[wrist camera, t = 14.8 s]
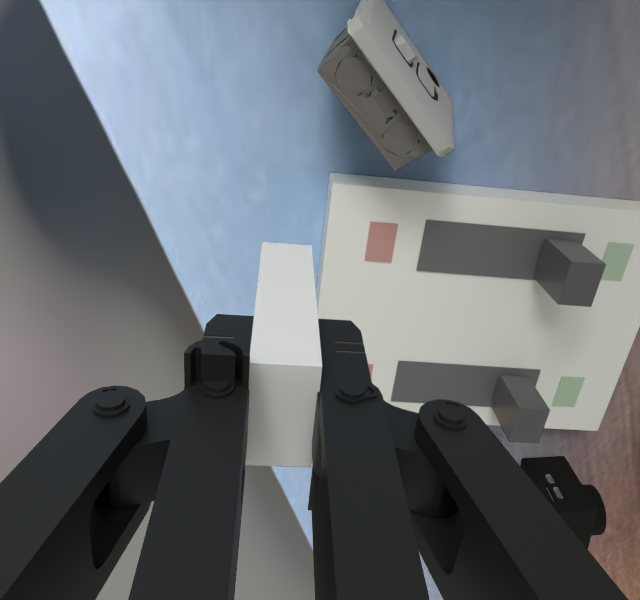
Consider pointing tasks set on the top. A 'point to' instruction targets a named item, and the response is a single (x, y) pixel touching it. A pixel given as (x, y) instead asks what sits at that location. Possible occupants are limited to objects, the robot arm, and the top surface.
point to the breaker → (569, 272)
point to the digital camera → (568, 495)
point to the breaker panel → (478, 292)
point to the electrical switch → (389, 86)
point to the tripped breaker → (520, 409)
